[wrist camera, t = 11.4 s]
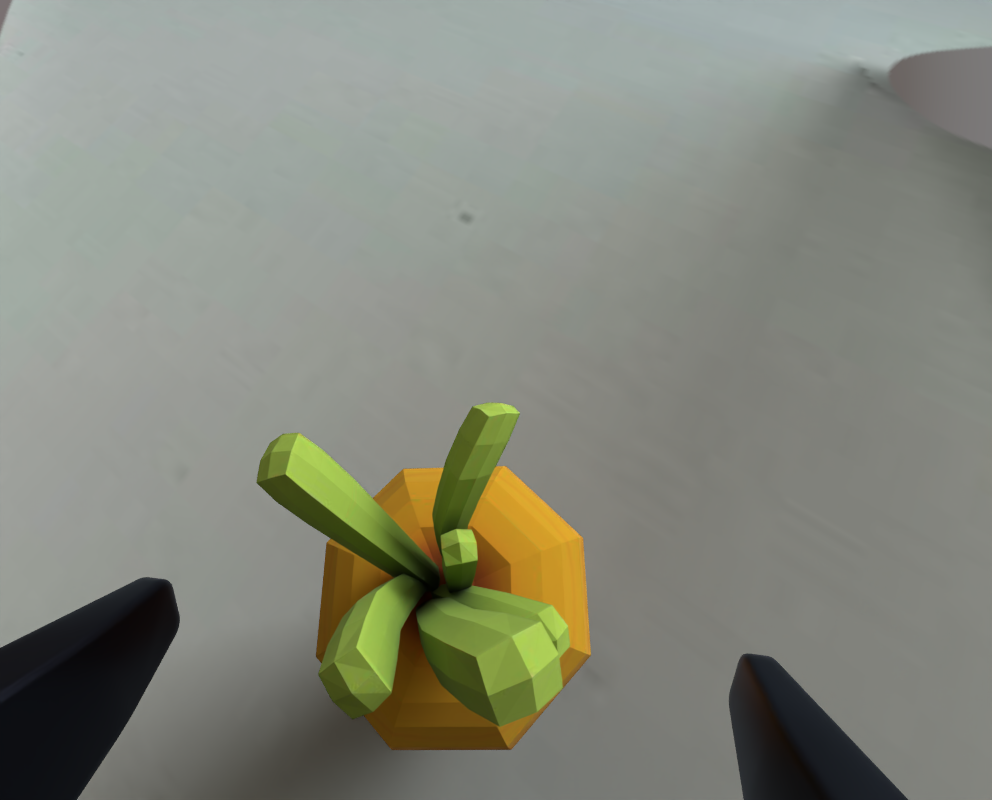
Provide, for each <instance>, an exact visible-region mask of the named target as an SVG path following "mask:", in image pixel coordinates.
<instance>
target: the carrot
mask: <svg viewBox="0 0 992 800" xmlns="http://www.w3.org/2000/svg"><path fill="white" fill-rule="evenodd" d="M519 415H520V413H519V412H518V411H517V410H516V409H515V407H514V406H510V405H506V404H502V403H485V404H481V405H477V406H473V407H472V408H471V410H470V412H469V413H468V415H467V417H466V419H465V420H464V422H463V424H462V426H461V427H460V429H459V431H458V434H457V436H456V438H455V440H454V443H453V445H452V447H451V450H450V452H449V454H448V456H447V459H446V462H445V465H444V468H417V469H403V470H402V471H401V472H399V473H398V474H397V475H396V476H395V477H394V478H393V479H392V480H391V481H390V482H389V483H388V484H387V485H386V486H385V487H384V488H383V489H382V490H381V491H380V492H379V493H378V494H377V495H376V496H375V497H374V498H372V497H371V496H370V495H369V494H368V493H367V492H366V491H365V490H364V489H363V488H362V487H361V486H360V485H359V484H358V483H357V482H356V481H355V480H354V479H353V478H352V477H351V476H350V475H349V474H348V473H347V472H346V471H345V470H344V469H343V468H342V467H341V466H339V465H338V464H337V463H336V462H335V461H334V460H333V459H332V458H331V457H330V456H329V455H328V454H327V453H326V452H324V451H323V450H322V449H321V448H319V447H318V446H316V445H315V444H314V443H312V442H311V441H310V440H308V439H307V438H305V437H304V436H303V435H301V434H300V433H290V434H282V435H281V436H279V437H278V438H277V439H275V440H274V441H272V442H271V443H270V444H269V446H268V448H267V450H266V452H265V453H264V455H263V457H262V459H261V461H260V465H259V471H258V477H257V482H256V483H257V484H258V485H259V486H260V487H261V488H263V489H264V490H265V491H266V492H267V493H268V494H269V495H270V496H271V497H272V498H273V499H274V500H275V501H276V502H278V503H279V504H280V505H282V506H283V507H285V508H286V509H288V510H289V511H290V512H292V513H293V514H295V515H296V516H297V517H299V518H300V519H302V520H303V521H304V522H306V523H307V524H309V525H310V526H312V527H313V528H315V529H317V530H318V531H320V532H321V533H323V534H325V535H326V536H328V537H329V538H331V539H330V540H329V541H328V542H327V544H326V555H325V566H324V576H323V587H322V597H321V608H320V619H319V629H318V640H317V651H316V657H317V659H318V660H319V661H320V662H321V667H320V670H319V674H318V675H319V677H320V679H321V681H322V683H323V685H324V686H325V688H326V690H327V692H328V694H329V696H330V698H331V699H332V701H333V702H334V703H335V704H336V705H337V706H338V707H339V708H340V709H342V710H343V711H344V712H345V713H346V714H347V715H348V716H349V717H350V718H352V719H355V718H358V717H361V716H363V715H364V717H365V718H366V719H367V720H368V721H369V723H370V724H371V725H372V726H373V728H374V729H375V730H376V731H377V733H378V734H379V735H380V736H381V737H382V739H383V740H384V741H385V742H386V744H387V745H388V746H389V747H390V748H391V749H392V750H511V749H512V748H513V747H514V746H515V745H516V744H517V742H518V741H519V740H520V739H521V738H522V736H523V735H524V734H525V733H526V732H527V730H528V729H529V728H530V727H531V726H532V725H533V723H534V722H535V721H536V720H537V719H538V717H539V716H540V715H541V714H542V713H543V711H544V710H545V709H546V708H547V707H548V706H549V704H550V703H551V702H552V701H553V700H554V698H555V697H556V696H557V695H558V694H559V692H560V691H561V690H562V689H563V688H564V687H565V685H566V684H567V683H568V682H569V681H570V679H571V678H572V677H573V676H574V675H575V673H576V672H577V671H578V670H579V669H580V668H581V666H582V665H583V664H584V663H585V662H586V660H587V659H588V658H589V657H590V656H591V651H590V636H589V621H588V606H587V591H586V576H585V561H584V547H583V538H582V537H581V536H580V535H579V534H578V533H577V532H576V531H575V530H574V529H573V528H572V527H571V526H569V525H568V524H567V523H566V522H565V521H564V520H563V519H562V518H561V517H560V516H559V515H558V514H557V513H556V512H554V511H553V510H552V509H551V508H550V507H549V506H548V505H547V504H546V503H545V502H544V501H543V500H542V499H540V498H539V497H538V496H537V495H536V494H535V493H534V492H533V491H532V490H531V489H530V488H529V487H528V486H527V485H525V484H524V483H523V482H522V481H521V480H520V479H519V478H518V477H517V476H516V475H515V474H514V473H513V472H512V471H510V470H509V469H508V468H507V467H506V466H496V465H497V463H498V461H499V459H500V457H501V455H502V453H503V451H504V449H505V447H506V445H507V443H508V441H509V439H510V436H511V434H512V431H513V429H514V427H515V424H516V422H517V419H518V417H519Z"/></svg>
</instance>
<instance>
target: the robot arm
mask: <svg viewBox="0 0 992 800" xmlns="http://www.w3.org/2000/svg"><path fill="white" fill-rule="evenodd" d="M179 623H180V616H179V612H178V607H177V603H176V599H175V595H174V590H173V587H172V584H171V583H170V582H169V581H168V580H165V579H158V578H150V577H144V578H140V579H138V580H136V581H134V582H132V583H130V584H128V585H126V586H124V587H122V588H120V589H118V590H116V591H114V592H112V593H110V594H108V595H106V596H104V597H102V598H100V599H98V600H96V601H94V602H92V603H90V604H88V605H86V606H84V607H82V608H80V609H78V610H76V611H74V612H72V613H70V614H68V615H65V616H63V617H61V618H59V619H57V620H55V621H53V622H51V623H49V624H47V625H45V626H43V627H41V628H39V629H37V630H35V631H33V632H31V633H29V634H27V635H25V636H23V637H21V638H19V639H17V640H15V641H13V642H11V643H9V644H7V645H5V646H3V647H1V648H0V800H77V799H78V797H79V796H80V794H81V793H82V791H83V790H84V788H85V787H86V785H87V784H88V782H89V781H90V779H91V778H92V776H93V775H94V773H95V772H96V770H97V769H98V767H99V766H100V764H101V763H102V761H103V760H104V758H105V757H106V755H107V754H108V752H109V751H110V749H111V748H112V746H113V745H114V743H115V742H116V740H117V738H118V737H119V735H120V734H121V732H122V731H123V729H124V727H125V726H126V724H127V722H128V721H129V719H130V717H131V715H132V714H133V712H134V710H135V709H136V707H137V705H138V703H139V701H140V699H141V698H142V696H143V694H144V692H145V690H146V688H147V687H148V685H149V683H150V681H151V679H152V677H153V676H154V674H155V672H156V670H157V668H158V666H159V665H160V663H161V661H162V659H163V657H164V655H165V654H166V652H167V650H168V648H169V646H170V644H171V643H172V641H173V639H174V637H175V635H176V633H177V631H178V628H179ZM729 708H730V715H731V721H732V728H733V734H734V740H735V747H736V753H737V760H738V766H739V772H740V779H741V785H742V791H743V798H744V800H908V799H907V798H906V797H905V796H904V795H903V794H902V793H901V792H900V791H899V789H898V788H897V787H896V786H895V785H894V784H893V783H892V782H891V781H890V780H889V779H888V778H887V777H886V776H885V775H884V774H883V773H882V772H881V771H880V769H879V768H878V767H877V766H876V765H875V764H874V763H873V762H872V761H871V760H870V759H869V758H868V757H867V756H866V755H865V754H864V753H863V752H862V751H861V749H860V748H859V747H858V746H857V745H856V744H855V743H854V742H853V741H852V740H851V739H850V738H849V737H848V736H847V735H846V734H845V733H844V732H843V731H842V729H841V728H840V727H839V726H838V725H837V724H836V723H835V722H834V721H833V720H832V719H831V718H830V717H829V716H828V715H827V714H826V713H825V712H824V711H823V709H822V708H821V707H820V706H819V705H818V704H817V703H816V702H815V701H814V700H813V699H812V698H811V697H810V696H809V695H808V694H807V693H806V692H805V691H804V689H803V688H802V687H801V686H800V685H799V684H798V683H797V682H796V681H795V680H794V679H793V678H792V677H791V676H790V675H789V674H788V673H787V672H786V671H785V669H784V668H783V667H782V666H781V665H780V664H779V663H778V662H777V661H776V660H775V659H773V658H772V657H769V656H763V655H756V654H748V653H747V654H743V655H742V656H741V658H740V660H739V663H738V666H737V669H736V673H735V676H734V679H733V683H732V686H731V689H730V694H729Z"/></svg>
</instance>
